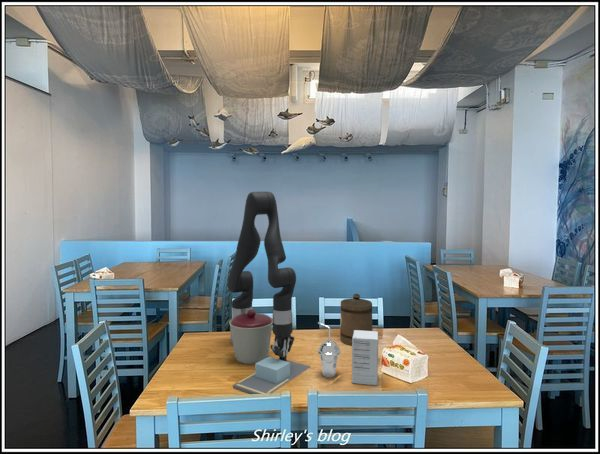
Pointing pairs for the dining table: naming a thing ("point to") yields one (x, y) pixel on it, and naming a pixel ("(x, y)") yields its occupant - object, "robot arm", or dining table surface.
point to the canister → (251, 336)
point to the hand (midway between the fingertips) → (282, 364)
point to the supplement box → (365, 357)
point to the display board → (263, 386)
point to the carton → (272, 370)
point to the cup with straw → (328, 356)
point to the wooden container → (354, 317)
